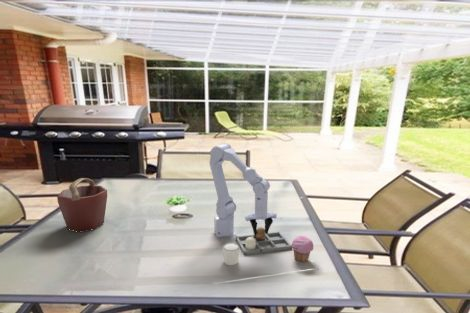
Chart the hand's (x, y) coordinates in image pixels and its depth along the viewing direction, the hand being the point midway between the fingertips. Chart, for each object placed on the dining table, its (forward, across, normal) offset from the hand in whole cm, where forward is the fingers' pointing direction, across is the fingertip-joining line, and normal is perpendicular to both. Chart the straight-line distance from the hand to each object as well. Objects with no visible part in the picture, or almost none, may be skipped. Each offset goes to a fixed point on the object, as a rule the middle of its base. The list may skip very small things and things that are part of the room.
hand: (260, 233), depth 144 cm
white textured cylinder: (+4, -18, -14) cm, 23 cm away
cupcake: (+4, +12, -20) cm, 23 cm away
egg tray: (+4, 0, -4) cm, 5 cm away
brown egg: (+3, 0, 0) cm, 3 cm away
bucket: (+4, -84, +40) cm, 92 cm away
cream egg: (+3, -7, -7) cm, 10 cm away
